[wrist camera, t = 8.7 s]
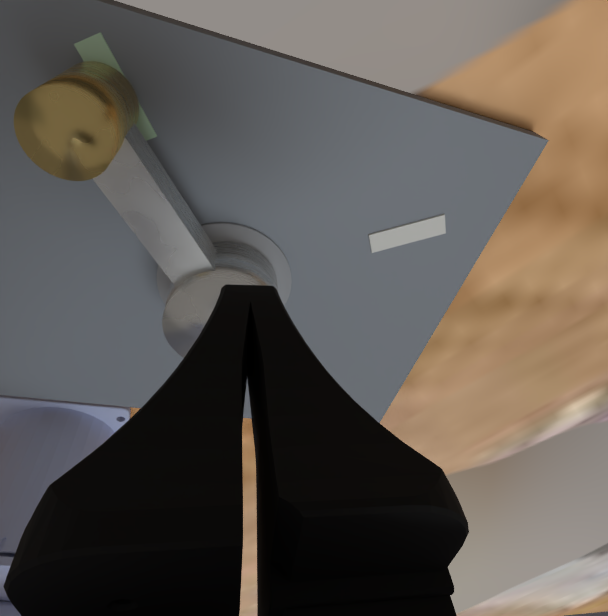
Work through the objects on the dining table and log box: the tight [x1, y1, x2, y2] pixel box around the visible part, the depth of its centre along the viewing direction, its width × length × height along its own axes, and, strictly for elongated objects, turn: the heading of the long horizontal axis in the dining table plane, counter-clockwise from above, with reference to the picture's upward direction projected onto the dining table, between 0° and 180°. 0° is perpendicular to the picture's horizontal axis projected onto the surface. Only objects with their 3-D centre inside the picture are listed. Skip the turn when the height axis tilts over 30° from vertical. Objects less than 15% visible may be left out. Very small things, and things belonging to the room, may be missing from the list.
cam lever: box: [14, 61, 279, 358], centre depth 17 cm, size 13×5×4 cm, turn 23°
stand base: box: [0, 0, 549, 423], centre depth 22 cm, size 20×24×1 cm
